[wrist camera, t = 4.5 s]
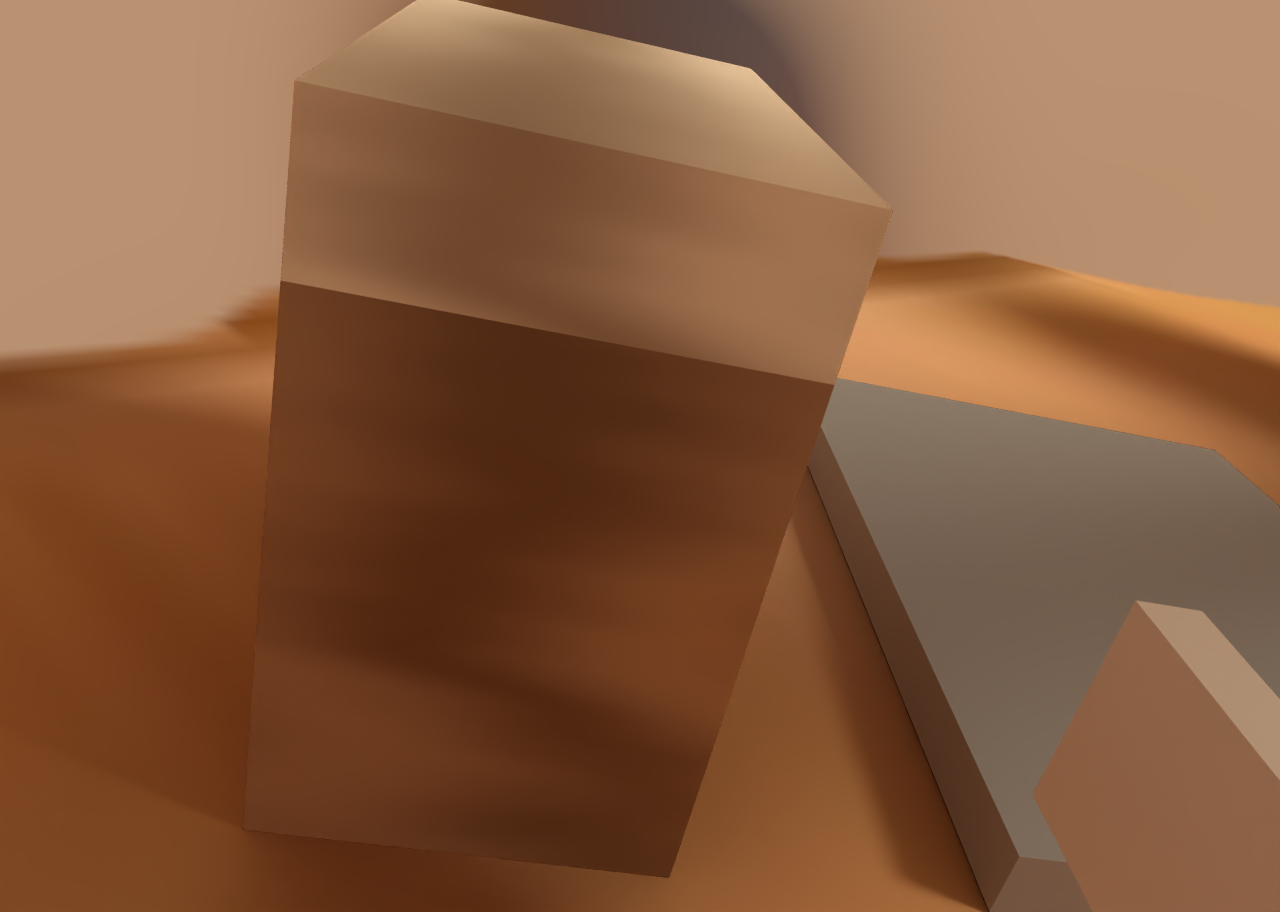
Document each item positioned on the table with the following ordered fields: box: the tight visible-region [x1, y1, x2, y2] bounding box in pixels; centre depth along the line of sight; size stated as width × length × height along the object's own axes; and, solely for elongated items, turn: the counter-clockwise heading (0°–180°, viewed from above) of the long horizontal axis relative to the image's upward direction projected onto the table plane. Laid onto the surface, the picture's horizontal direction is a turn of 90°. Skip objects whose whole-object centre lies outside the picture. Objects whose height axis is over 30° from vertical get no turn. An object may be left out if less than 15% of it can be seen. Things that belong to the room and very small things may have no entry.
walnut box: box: [242, 0, 893, 878], centre depth 17 cm, size 6×10×10 cm, turn 3°
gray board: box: [808, 378, 1280, 912], centre depth 25 cm, size 14×18×1 cm
